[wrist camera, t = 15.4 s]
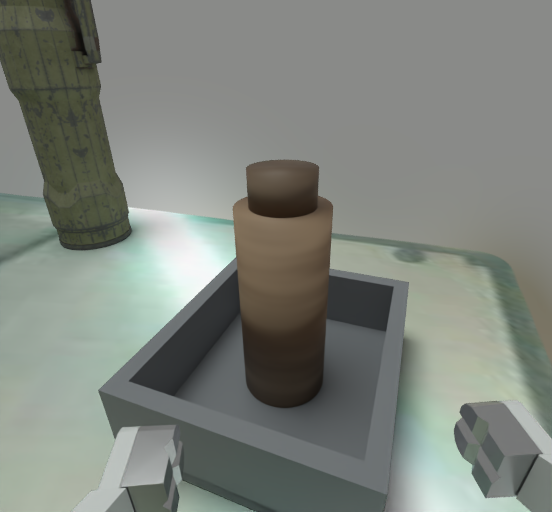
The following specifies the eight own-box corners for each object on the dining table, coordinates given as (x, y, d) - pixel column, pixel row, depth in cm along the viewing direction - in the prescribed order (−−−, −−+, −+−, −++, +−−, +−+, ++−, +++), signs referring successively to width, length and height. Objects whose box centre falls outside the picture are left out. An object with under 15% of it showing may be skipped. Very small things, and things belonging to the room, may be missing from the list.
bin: (372, 560, 16) (387, 495, 13) (119, 453, 20) (98, 390, 18) (399, 334, 29) (409, 282, 26) (243, 300, 33) (240, 253, 31)
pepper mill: (310, 418, 21) (320, 185, 15) (232, 393, 23) (210, 176, 16) (330, 359, 25) (344, 159, 19) (263, 342, 27) (255, 154, 21)
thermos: (74, 221, 52) (-21, -104, 36) (152, 224, 51) (90, -112, 34) (31, 248, 44) (-117, -154, 28) (122, 252, 43) (23, -165, 27)
